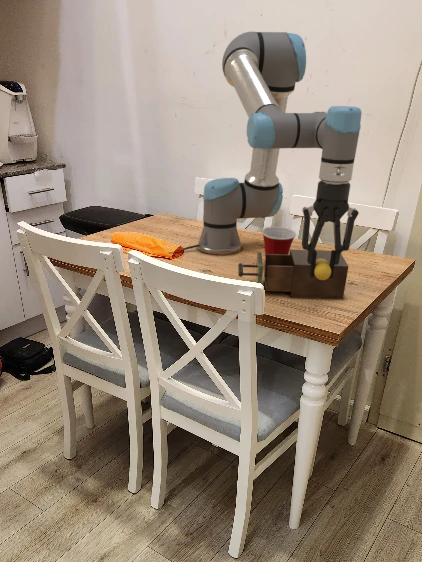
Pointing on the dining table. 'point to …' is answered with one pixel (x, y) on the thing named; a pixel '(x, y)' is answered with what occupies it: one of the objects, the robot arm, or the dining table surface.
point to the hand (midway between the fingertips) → (320, 275)
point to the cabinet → (312, 285)
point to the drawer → (272, 271)
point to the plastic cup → (277, 240)
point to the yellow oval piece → (322, 269)
